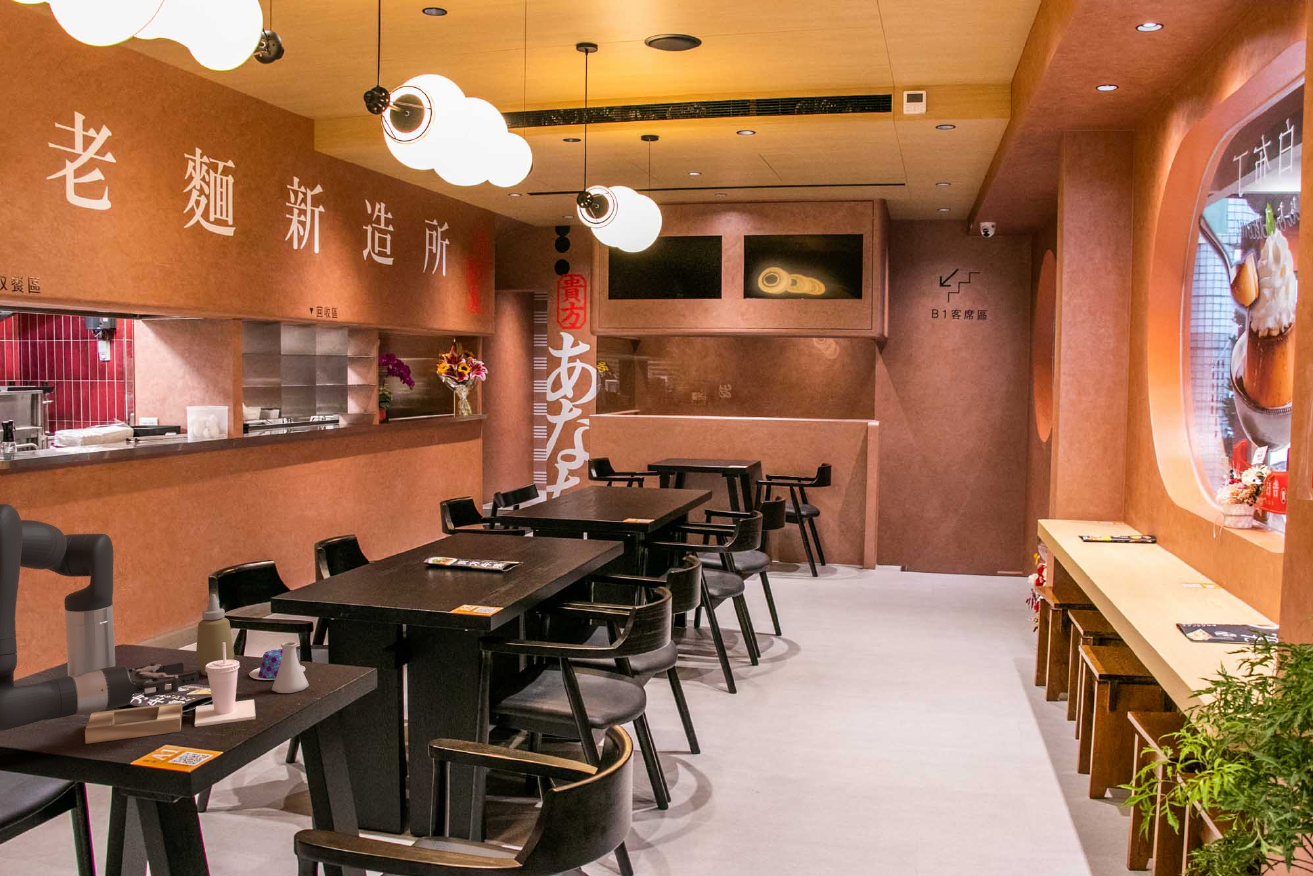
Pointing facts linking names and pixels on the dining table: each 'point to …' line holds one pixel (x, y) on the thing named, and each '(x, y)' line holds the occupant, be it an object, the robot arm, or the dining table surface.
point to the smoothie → (223, 683)
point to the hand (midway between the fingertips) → (190, 671)
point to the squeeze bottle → (213, 636)
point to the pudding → (269, 665)
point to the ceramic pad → (241, 713)
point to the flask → (289, 671)
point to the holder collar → (160, 717)
